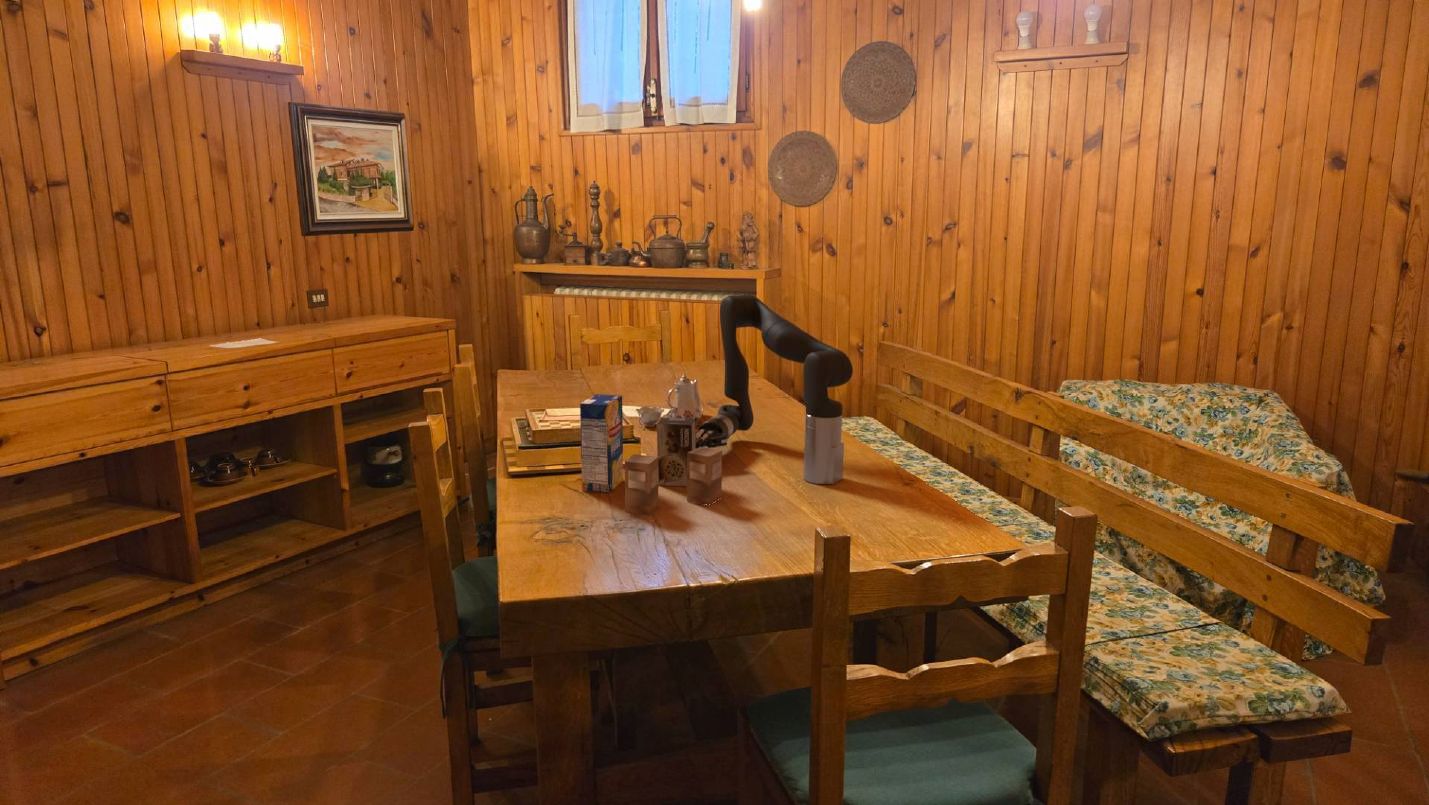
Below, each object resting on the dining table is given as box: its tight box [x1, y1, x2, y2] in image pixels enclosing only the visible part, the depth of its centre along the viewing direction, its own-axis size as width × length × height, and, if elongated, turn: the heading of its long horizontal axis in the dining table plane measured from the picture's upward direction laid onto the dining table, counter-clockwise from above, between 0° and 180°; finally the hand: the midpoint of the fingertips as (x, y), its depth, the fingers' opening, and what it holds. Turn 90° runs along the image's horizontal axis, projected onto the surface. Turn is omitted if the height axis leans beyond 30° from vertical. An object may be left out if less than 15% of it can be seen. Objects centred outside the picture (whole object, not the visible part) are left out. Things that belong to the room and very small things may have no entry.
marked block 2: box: [686, 447, 723, 505], centre depth 222 cm, size 6×6×12 cm
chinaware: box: [635, 373, 705, 428], centre depth 295 cm, size 28×17×17 cm, turn 144°
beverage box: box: [579, 393, 624, 494], centre depth 231 cm, size 7×11×22 cm, turn 166°
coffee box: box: [656, 417, 697, 487], centre depth 234 cm, size 9×6×16 cm
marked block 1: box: [624, 454, 659, 515], centre depth 215 cm, size 6×6×12 cm
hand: (693, 446), depth 243 cm, fingers closed
